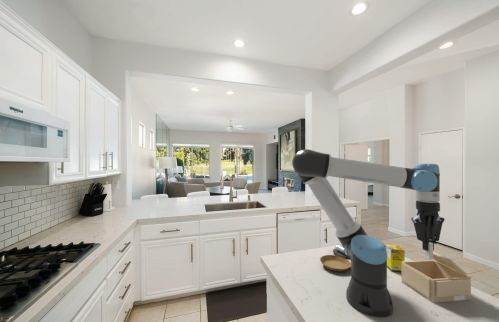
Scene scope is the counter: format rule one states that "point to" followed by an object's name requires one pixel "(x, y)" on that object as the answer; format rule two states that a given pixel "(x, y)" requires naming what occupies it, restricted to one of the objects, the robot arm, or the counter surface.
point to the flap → (447, 262)
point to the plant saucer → (335, 263)
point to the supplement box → (395, 257)
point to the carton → (436, 281)
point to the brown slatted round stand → (340, 251)
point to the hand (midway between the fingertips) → (428, 258)
